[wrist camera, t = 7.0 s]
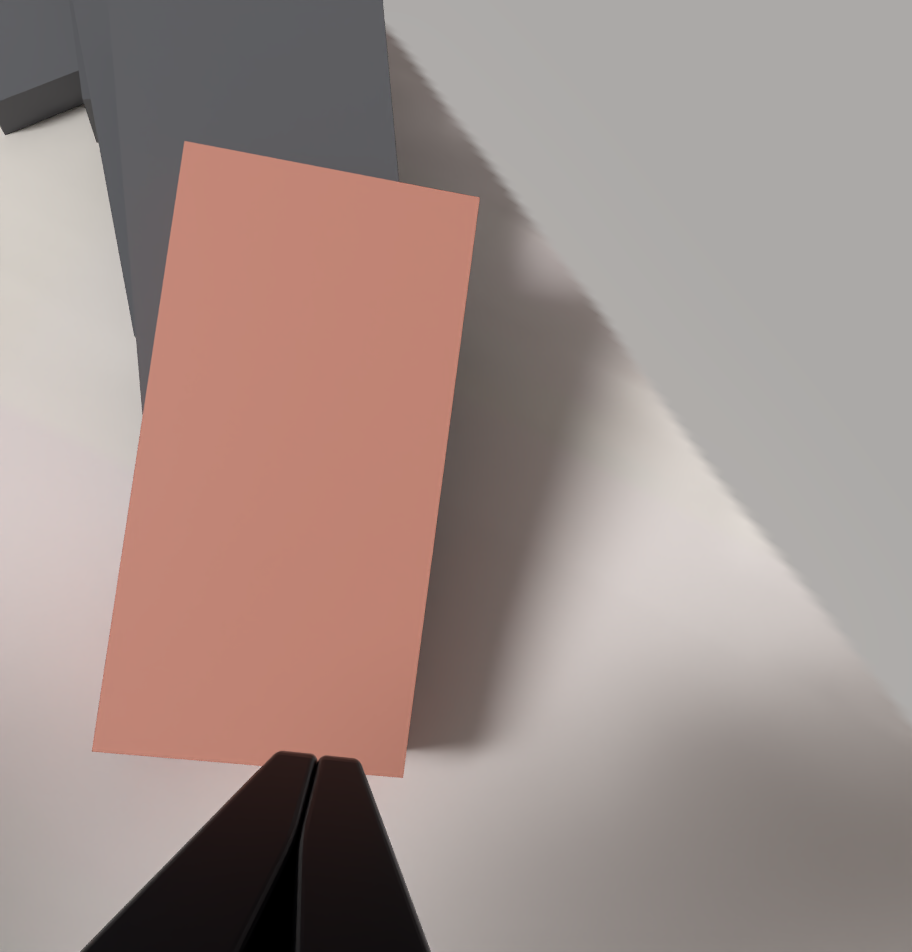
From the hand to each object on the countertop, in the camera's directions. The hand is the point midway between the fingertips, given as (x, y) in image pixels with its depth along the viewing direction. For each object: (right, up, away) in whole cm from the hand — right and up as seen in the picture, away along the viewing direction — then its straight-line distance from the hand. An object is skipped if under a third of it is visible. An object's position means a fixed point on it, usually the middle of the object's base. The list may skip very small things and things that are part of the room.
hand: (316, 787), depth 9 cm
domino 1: (-2, -2, +6) cm, 7 cm away
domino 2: (-2, +2, +8) cm, 8 cm away
